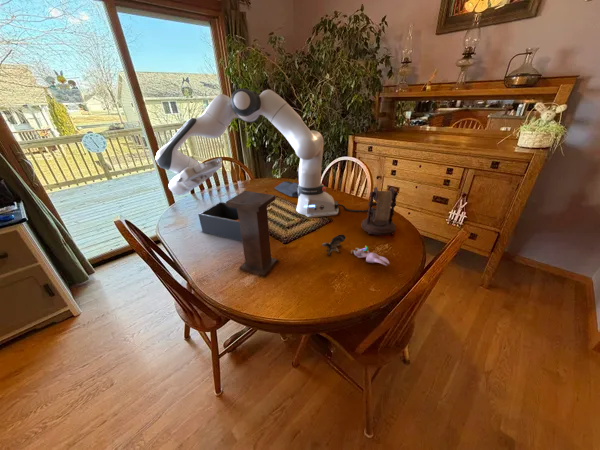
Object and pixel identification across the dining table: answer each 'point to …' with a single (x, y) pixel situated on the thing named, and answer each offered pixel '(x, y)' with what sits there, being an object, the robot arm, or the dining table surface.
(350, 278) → the dining table surface
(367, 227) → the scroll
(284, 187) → the dark slate chunk
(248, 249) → the stand
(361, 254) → the rabbit figure
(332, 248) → the grey animal figurine
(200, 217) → the compartment
